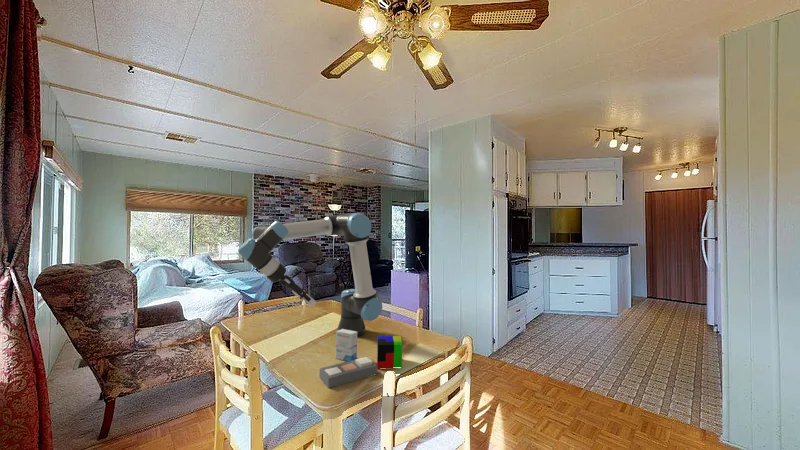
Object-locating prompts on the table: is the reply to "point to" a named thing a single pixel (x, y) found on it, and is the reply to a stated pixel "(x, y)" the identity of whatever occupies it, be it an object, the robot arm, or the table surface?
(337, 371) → the key
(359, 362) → the key
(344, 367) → the middle key
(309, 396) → the table surface
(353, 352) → the ink box
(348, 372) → the keypad
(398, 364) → the puzzle toy
